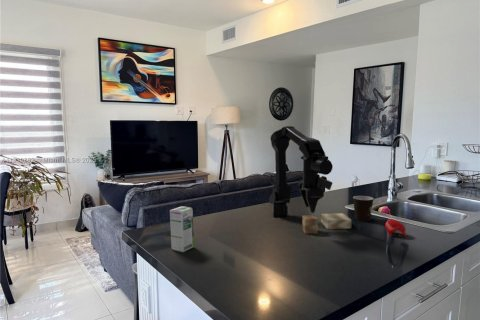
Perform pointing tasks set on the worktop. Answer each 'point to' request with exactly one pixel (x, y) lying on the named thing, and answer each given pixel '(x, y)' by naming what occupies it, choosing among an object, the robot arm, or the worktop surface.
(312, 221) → the walnut block
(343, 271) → the worktop surface
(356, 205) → the coffee mug
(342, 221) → the birch block
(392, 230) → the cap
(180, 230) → the syrup box
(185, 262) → the worktop surface
